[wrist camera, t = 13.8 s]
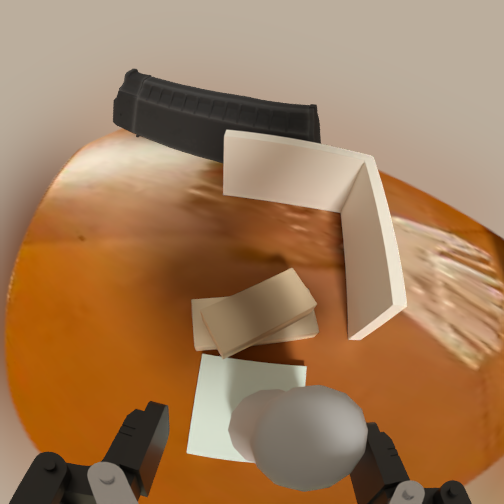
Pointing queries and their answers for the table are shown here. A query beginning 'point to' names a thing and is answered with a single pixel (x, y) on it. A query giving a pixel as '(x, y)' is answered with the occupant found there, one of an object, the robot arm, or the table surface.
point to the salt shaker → (300, 435)
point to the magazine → (204, 115)
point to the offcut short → (257, 312)
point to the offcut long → (293, 332)
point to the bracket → (331, 199)
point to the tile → (231, 399)
